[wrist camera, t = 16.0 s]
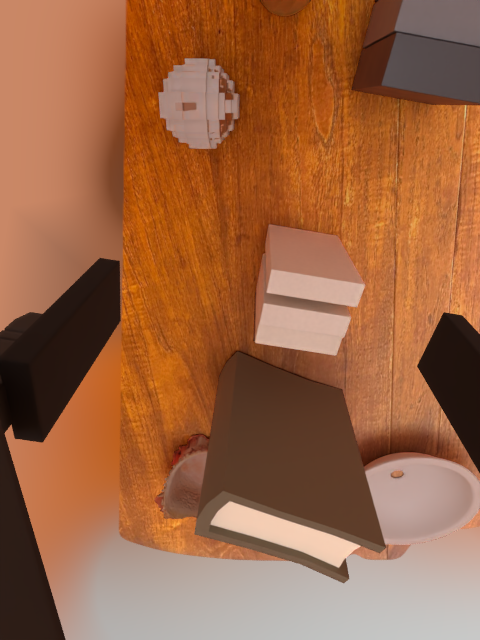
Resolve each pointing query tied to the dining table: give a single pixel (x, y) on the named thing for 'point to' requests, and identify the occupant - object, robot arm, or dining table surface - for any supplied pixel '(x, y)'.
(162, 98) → the pale rounded piece
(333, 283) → the white book
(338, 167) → the dining table surface
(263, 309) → the white books
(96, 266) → the robot arm
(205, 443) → the seashell
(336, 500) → the book
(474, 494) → the soup bowl
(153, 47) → the dining table surface
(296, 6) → the vase
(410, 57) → the grey books
